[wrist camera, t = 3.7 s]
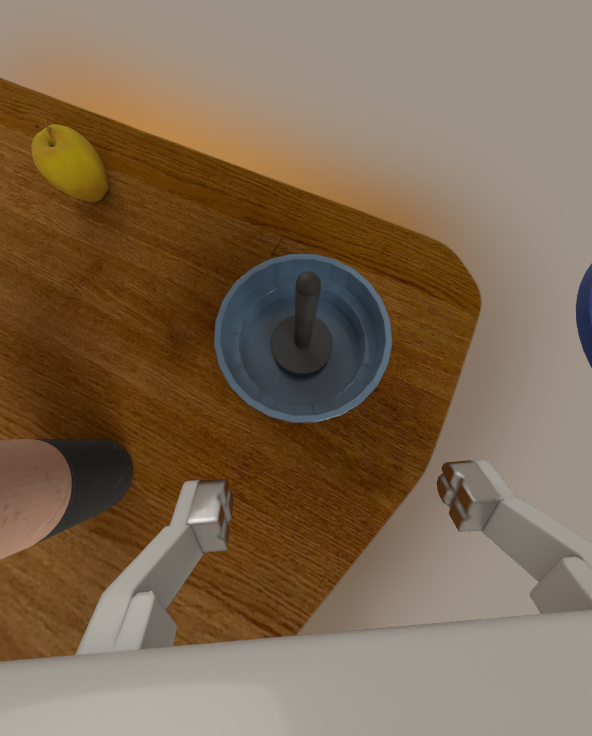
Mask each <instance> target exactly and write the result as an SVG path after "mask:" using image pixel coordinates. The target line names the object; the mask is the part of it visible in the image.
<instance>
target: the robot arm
mask: <svg viewBox="0 0 592 736" xmlns="http://www.w3.org/2000/svg"><path fill="white" fill-rule="evenodd" d="M442 471H443V474H441V475H440V476H439V477H438V481H437V489H438V492H439V495H440V497H441V499H442V501H443V503H445V504H446V505H447V506H449V507H450V511H449V514H450V516H451V518H452V520H453V522H454V524H455V525H456V527H457V529H458V531H459V532H463V531H483V533H484V534H485V535H486V536H487V537H489V538H490V539H491V540H492V541H493V542H494V543H495V544H496V545H498V546H499V547H500V548H501V549H502V550H503V551H504V552H505V553H507V554H508V555H509V556H510V557H511V558H512V559H513V560H515V561H516V562H517V563H518V564H519V565H520V566H522V568H524V569H525V570H526V571H527V572H528V573H529V574H530V575H531V576H533V577H534V578H535V579H536V580H537V581H538V582H539V583H538V584H537V585H536V586H535V587H534V589H533V590H532V591H531V593H530V597H531V598H532V600H533V602H534V603H535V605H536V606H537V608H538V610H539V611H540V613H541V614H536V615H524V616H513V617H501V618H491V619H479V620H467V621H456V622H445V623H434V624H423V625H410V626H399V627H388V628H377V629H366V630H354V631H342V632H331V633H320V634H308V635H297V636H285V637H274V638H263V639H251V640H240V641H229V642H217V643H206V644H194V645H183V646H173V644H174V639H175V635H176V630H177V625H176V623H175V621H174V620H173V618H172V617H171V616H170V614H169V613H168V612H167V611H166V609H167V608H168V606H169V605H170V603H171V602H172V600H173V599H174V597H175V596H176V594H177V593H178V591H179V590H180V588H181V587H182V585H183V584H184V582H185V581H186V579H187V578H188V576H189V575H190V573H191V572H192V570H193V569H194V567H195V566H196V564H197V563H198V561H199V560H200V558H201V557H202V555H203V553H205V552H214V551H223V550H227V547H228V540H229V533H230V529H229V526H228V522H229V521H230V520H231V518H232V511H233V498H232V493H231V491H229V490H228V489H229V482H228V479H216V480H196V481H185V483H184V484H183V486H182V489H181V492H180V495H179V498H178V501H177V505H176V508H175V511H174V514H173V517H172V520H171V523H170V526H166V527H164V528H163V530H162V531H161V532H160V533H159V534H158V535H157V536H156V537H155V538H154V539H153V540H152V541H151V542H150V543H149V544H148V545H147V547H146V548H145V549H144V550H143V551H142V552H141V553H140V554H139V555H138V556H137V557H136V558H135V559H134V560H133V561H132V563H131V564H130V565H129V566H128V567H127V568H126V569H125V570H124V571H123V572H122V573H121V574H120V575H119V576H118V577H117V578H116V580H115V581H114V582H113V583H112V584H111V585H110V586H109V587H108V588H107V589H106V590H105V591H104V592H103V593H102V595H101V597H100V600H99V602H98V604H97V606H96V609H95V611H94V613H93V616H92V618H91V620H90V622H89V625H88V627H87V629H86V631H85V634H84V636H83V638H82V641H81V643H80V645H79V647H78V650H77V652H76V654H75V655H69V656H58V657H47V658H36V659H24V660H13V661H2V662H0V736H592V542H591V541H590V540H588V539H587V538H585V537H584V536H582V535H580V534H579V533H577V532H575V531H574V530H572V529H571V528H569V527H567V526H566V525H564V524H563V523H561V522H559V521H558V520H556V519H555V518H553V517H551V516H550V515H548V514H546V513H545V512H543V511H542V510H540V509H539V508H537V507H535V506H534V505H532V504H530V503H529V502H527V501H526V500H524V499H519V498H518V497H517V496H516V495H515V493H514V492H513V491H512V489H511V488H510V487H509V486H508V484H507V483H506V482H505V481H504V479H503V478H502V477H501V476H500V474H499V473H498V472H497V470H496V469H495V468H494V467H493V465H492V464H491V463H490V462H489V461H487V460H475V461H470V460H469V461H458V462H447V463H445V464H443V466H442Z"/></svg>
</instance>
